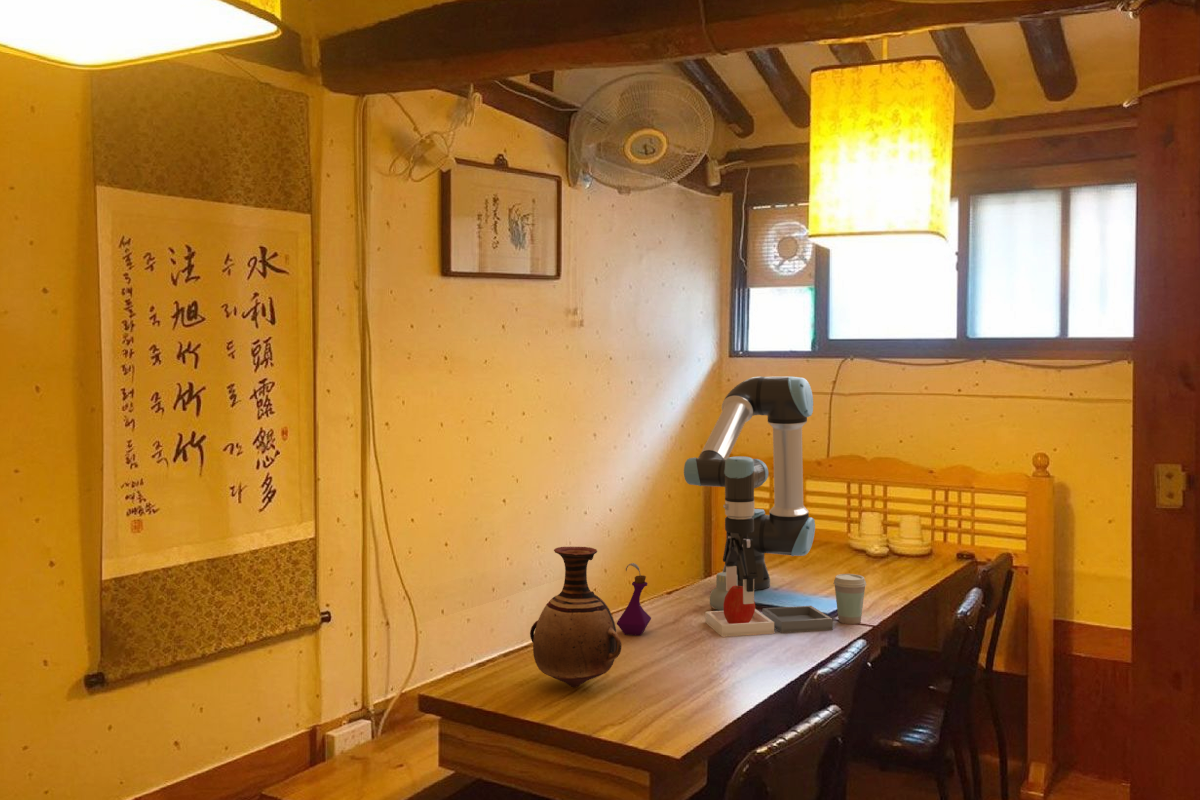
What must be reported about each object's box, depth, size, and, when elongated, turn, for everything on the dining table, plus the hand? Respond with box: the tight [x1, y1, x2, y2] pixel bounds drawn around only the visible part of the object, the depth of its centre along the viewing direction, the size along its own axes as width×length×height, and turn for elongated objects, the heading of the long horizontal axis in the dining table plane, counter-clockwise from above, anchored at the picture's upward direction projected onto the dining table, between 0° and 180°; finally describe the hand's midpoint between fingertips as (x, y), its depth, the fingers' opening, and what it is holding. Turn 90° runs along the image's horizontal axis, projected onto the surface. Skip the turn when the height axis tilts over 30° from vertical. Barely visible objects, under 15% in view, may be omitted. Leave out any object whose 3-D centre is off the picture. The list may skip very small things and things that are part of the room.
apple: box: [723, 584, 756, 624], centre depth 269 cm, size 8×8×11 cm
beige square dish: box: [704, 608, 775, 638], centre depth 269 cm, size 14×14×3 cm
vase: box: [529, 546, 622, 688], centre depth 222 cm, size 21×18×30 cm
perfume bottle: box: [616, 562, 652, 637], centre depth 264 cm, size 8×8×18 cm
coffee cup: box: [833, 573, 867, 625], centre depth 275 cm, size 8×9×12 cm
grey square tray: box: [761, 605, 834, 634], centre depth 272 cm, size 14×14×3 cm
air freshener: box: [709, 571, 738, 611], centre depth 288 cm, size 11×8×10 cm
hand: (739, 596), depth 269 cm, fingers open, 13 cm apart
